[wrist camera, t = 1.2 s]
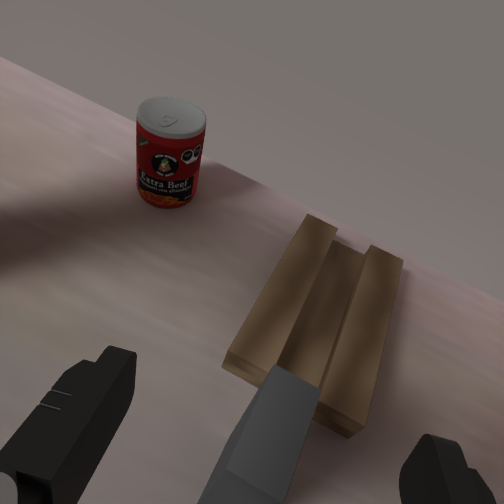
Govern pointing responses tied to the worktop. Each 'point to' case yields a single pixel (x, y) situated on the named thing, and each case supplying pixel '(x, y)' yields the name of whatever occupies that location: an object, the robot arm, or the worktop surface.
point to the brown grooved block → (322, 323)
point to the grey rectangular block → (264, 443)
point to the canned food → (168, 150)
